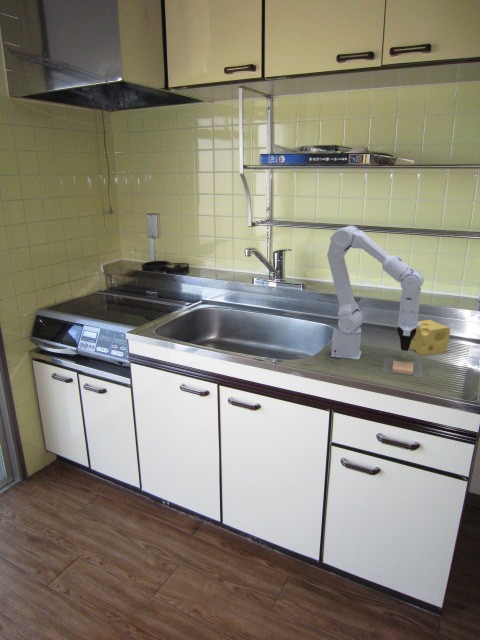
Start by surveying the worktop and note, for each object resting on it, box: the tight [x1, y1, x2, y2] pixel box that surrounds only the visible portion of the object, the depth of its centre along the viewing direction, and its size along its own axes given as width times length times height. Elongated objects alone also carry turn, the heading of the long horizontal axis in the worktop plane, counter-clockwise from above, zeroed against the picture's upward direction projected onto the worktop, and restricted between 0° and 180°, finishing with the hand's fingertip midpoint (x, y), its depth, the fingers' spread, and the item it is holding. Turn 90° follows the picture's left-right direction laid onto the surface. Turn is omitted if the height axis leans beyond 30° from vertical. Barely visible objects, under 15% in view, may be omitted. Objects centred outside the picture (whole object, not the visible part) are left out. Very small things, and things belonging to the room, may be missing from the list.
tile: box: [392, 361, 413, 375], centre depth 146 cm, size 6×1×7 cm
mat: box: [381, 357, 424, 379], centre depth 148 cm, size 12×13×1 cm
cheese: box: [409, 319, 451, 357], centre depth 162 cm, size 10×11×10 cm
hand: (404, 349), depth 149 cm, fingers closed
